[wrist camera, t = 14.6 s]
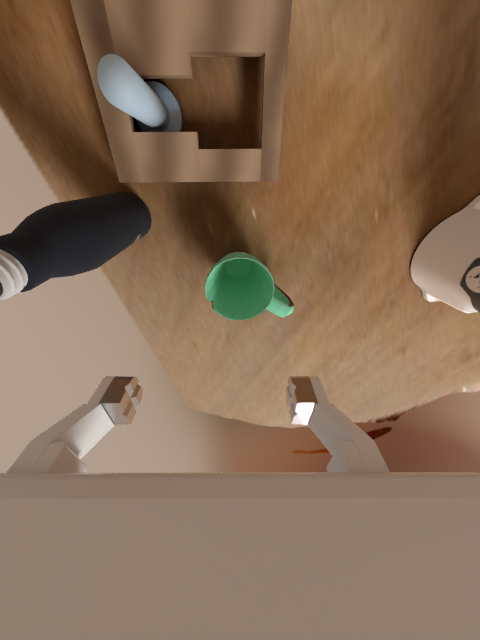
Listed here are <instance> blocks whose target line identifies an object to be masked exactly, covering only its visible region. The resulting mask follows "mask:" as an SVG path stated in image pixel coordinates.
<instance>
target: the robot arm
mask: <svg viewBox="0 0 480 640" xmlns="http://www.w3.org/2000/svg"><path fill="white" fill-rule="evenodd" d="M411 277H412V279H413V281H414V283H415V284H416V285H417V286H418V287H420V288H421V290H422V294H423V297H424V299H425V300H427V301H429V302H434V301H442V302H444V303H446V304H448V305H450V306H452V307H454V308H456V309H458V310H460V311H462V312H465V313H471V312H480V195H479V196H477V197H476V198H475V199H474V200H473V201H472V202H471V203H470V204H468V205H467V206H466V207H465V208H464V209H462V210H461V211H459V212H458V213H456V214H454V215H452V216H450V217H449V218H447V219H445V220H444V221H443V222H441V223H440V224H439V225H437V226H436V227H435V228H434V229H433V230H432V231H431V232H430V233H429V234H428V235H427V236H426V237H425V238H424V240H423V241H422V242H421V244H420V245H419V247H418V248H417V250H416V252H415V254H414V257H413V259H412V263H411ZM137 383H138V379H137V378H136V377H117V376H115V377H114V376H111V377H110V376H107V377H105V378H104V379H103V380H102V382H101V383H100V385H99V386H98V388H97V389H96V391H95V392H94V394H93V395H92V397H91V399H90V400H89V402H88V403H87V404H83V405H82V406H81V407H79V408H78V409H76V410H75V411H73V412H72V413H70V414H69V415H68V416H66V417H65V418H63V419H62V420H60V421H59V422H57V423H56V424H55V425H53V426H52V427H50V428H49V429H47V430H46V431H45V432H43V433H42V434H40V435H39V436H37V437H36V438H34V439H33V440H32V441H31V442H30V443H29V444H28V445H27V447H26V448H25V449H24V451H23V452H22V453H21V455H20V456H19V457H18V459H17V460H16V461H15V462H14V464H13V465H12V466H11V467H10V469H9V470H8V471H7V473H0V640H480V473H474V472H389V470H388V468H387V466H386V464H385V462H384V460H383V458H382V456H381V454H380V452H379V450H378V448H377V446H376V444H375V442H374V440H373V439H371V438H370V437H369V436H368V435H367V434H366V433H365V432H364V431H362V430H361V429H360V428H359V427H358V426H357V425H355V423H353V422H352V421H351V420H350V419H349V418H348V417H347V416H346V415H344V414H343V413H342V412H341V411H340V410H339V409H338V408H337V407H335V406H334V405H333V404H329V401H328V399H327V396H326V394H325V391H324V389H323V386H322V383H321V381H320V378H319V377H308V376H296V377H289V379H288V383H289V385H288V386H287V390H286V397H287V403H288V405H289V406H290V411H289V413H290V418H291V423H292V424H308V426H309V427H310V428H311V429H312V431H313V432H314V433H315V434H316V436H317V437H318V438H319V439H320V441H321V442H322V443H323V444H324V446H325V447H326V448H327V449H328V451H329V452H330V453H331V454H332V455H333V457H332V459H331V461H330V463H329V464H328V466H327V471H328V472H324V473H321V472H320V473H319V472H318V473H317V472H316V473H85V471H86V469H87V466H86V465H85V464H84V463H83V462H82V461H81V460H80V459H81V458H82V457H83V456H84V455H85V454H86V453H87V452H88V451H89V450H90V449H91V448H92V447H93V446H94V445H95V444H96V443H97V442H98V441H99V440H100V439H101V438H102V437H103V436H104V435H105V434H106V433H107V432H108V431H109V430H110V429H111V428H112V427H113V426H114V425H117V424H131V423H132V420H133V418H134V416H135V413H136V410H135V407H137V406H138V405H139V404H140V401H141V398H142V389H141V387H140V386H139V385H138V384H137Z"/></svg>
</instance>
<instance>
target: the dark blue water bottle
mask: <svg viewBox="0 0 480 640" xmlns="http://www.w3.org/2000/svg"><path fill="white" fill-rule="evenodd" d="M150 227H151V215H150V212H149V210H148V208H147V206H146V205H145V204H144V202H143V201H142V200H141V199H139V198H138V197H137V196H135V195H133V194H130V193H124V192H120V193H114V194H108V195H102V196H96V197H90V198H84V199H78V200H72V201H66V202H60V203H54V204H52V205H49V206H46V207H43V208H42V209H39V210H37V211H36V212H34V213H33V214H31V215H29V216H28V217H26V218H25V219H24V220H23V221H22V222H21V223H20V224H19V226H18V227H17V228H16V229H15V230H14V231H13V232H12V233H10V234H6V235H3V236H0V299H2V300H3V299H7V298H10V297H11V296H12V295H13V294H16V293H19V292H25V291H28V290H31V289H33V288H35V287H36V286H38V285H40V284H42V283H43V282H45V281H47V280H48V279H50V278H55V277H65V276H73V275H76V274H80V273H84V272H87V271H90V270H93V269H96V268H98V267H100V266H101V265H103V264H104V263H106V262H107V261H108V260H110V259H111V258H113V257H114V256H116V255H117V254H118V253H120V252H121V251H123V250H124V249H126V248H127V247H128V246H130V245H131V244H133V243H134V242H136V241H137V240H138V239H140V238H141V237H143V236H144V235H145V234H147V233H148V231H149V229H150Z"/></svg>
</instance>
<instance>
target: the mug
mask: <svg viewBox="0 0 480 640" xmlns="http://www.w3.org/2000/svg"><path fill="white" fill-rule="evenodd" d="M205 296H206V298H207V300H208V302H210V301H212V307H213V310H214V311H215V312H216V313H218V314H219V315H221V316H223V317H225V318H228V319H232V320H246V319H250V318H254V317H256V316H257V315H259V314H261V313H262V312H263V311H264V310H265V309H267V310H269V311H270V312H272V313H274V314H276V315H278V316H280V317H282V318H283V317H285V316H287V315H290V314H291V313H292V312H293V310H294V304H293V303H292V301H291V299H290V298H289V296H287V295H286V294H285V293H284V292H283V291H282V290H281V289H280V288H278V287H277V286H276V285H275V284H274V282H273V277H272V275H271V273H270V272H269V270H268V269H267V267H266V266H265V265H264V264H263V263H262V262H261V261H259V260H258V259H257V258H256V257H254V256H253V255H251V254H248V253H245V252H233V253H230V254H227V255H226V256H224V257H223V258H221V259H220V261H219V262H217V263H216V264H215V265H214V266H213V268H212V269H211V271H210V272H209V273H208V276H207V279H206V283H205Z"/></svg>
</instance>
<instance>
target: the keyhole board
mask: <svg viewBox="0 0 480 640" xmlns="http://www.w3.org/2000/svg"><path fill="white" fill-rule="evenodd" d="M70 3H71V6H72V10H73V14H74V17H75V21H76V25H77V28H78V32H79V36H80V39H81V43H82V47H83V50H84V54H85V58H86V61H87V65H88V69H89V72H90V76H91V80H92V83H93V87H94V91H95V94H96V98H97V102H98V105H99V109H100V113H101V116H102V120H103V123H104V127H105V131H106V134H107V138H108V142H109V145H110V149H111V153H112V156H113V160H114V164H115V167H116V171H117V175H118V178H119V182H120V183H135V182H246V181H278V172H279V159H280V146H281V133H282V120H283V108H284V95H285V82H286V69H287V56H288V44H289V31H290V18H291V5H292V0H70ZM107 54H115V55H118V56H120V57H121V58H122V59H124V60H125V61H126V62H127V63H128V64H129V65H130V67H131V68H132V69H133V70H134V71H135V72H136V73H137V74H138V75H139V76H140V77H141V78H142V79H193V74H192V62H191V57H264V71H263V98H262V125H261V149H199V141H198V133H197V132H135V127H134V122H133V118H132V116H131V115H129V114H127V113H125V112H124V111H122V110H120V109H119V108H117V107H115V106H114V105H112V104H111V103H110V102H109V101H108V100H107V99H106V98H105V96H104V95H103V93H102V91H101V89H100V86H99V83H98V79H97V68H98V64H99V62H100V60H101V58H102V57H104V56H105V55H107Z"/></svg>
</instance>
